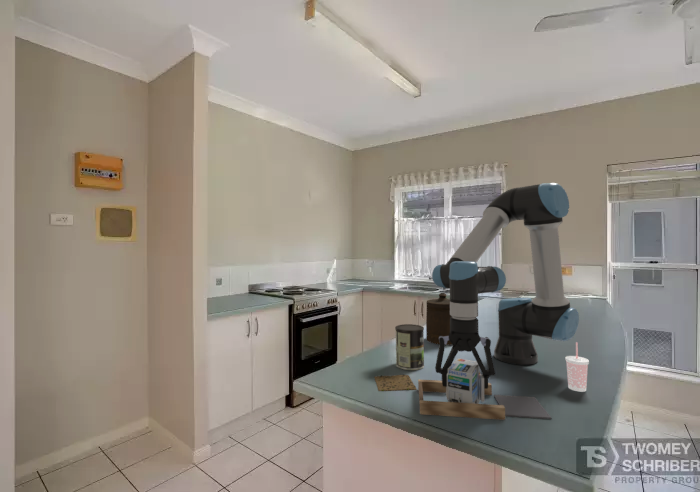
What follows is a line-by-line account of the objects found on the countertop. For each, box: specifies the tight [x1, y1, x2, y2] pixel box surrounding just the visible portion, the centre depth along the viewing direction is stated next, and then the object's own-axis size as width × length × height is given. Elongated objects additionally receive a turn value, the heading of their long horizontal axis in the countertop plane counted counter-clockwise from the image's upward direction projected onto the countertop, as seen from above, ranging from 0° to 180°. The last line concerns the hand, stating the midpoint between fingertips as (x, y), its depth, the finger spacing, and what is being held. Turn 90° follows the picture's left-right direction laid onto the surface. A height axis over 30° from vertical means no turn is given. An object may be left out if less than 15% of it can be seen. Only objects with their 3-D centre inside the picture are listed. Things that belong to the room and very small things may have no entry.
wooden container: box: [425, 292, 453, 346], centre depth 160 cm, size 15×15×22 cm
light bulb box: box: [447, 357, 482, 404], centre depth 97 cm, size 11×7×11 cm, turn 148°
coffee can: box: [395, 323, 425, 371], centre depth 128 cm, size 10×10×14 cm
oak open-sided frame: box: [417, 378, 506, 421], centre depth 98 cm, size 21×16×3 cm
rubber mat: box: [493, 394, 552, 420], centre depth 95 cm, size 11×12×1 cm
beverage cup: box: [565, 341, 590, 393], centre depth 106 cm, size 6×6×14 cm
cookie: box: [373, 374, 418, 392], centre depth 112 cm, size 12×12×1 cm
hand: (464, 398), depth 97 cm, fingers closed on light bulb box, 8 cm apart
